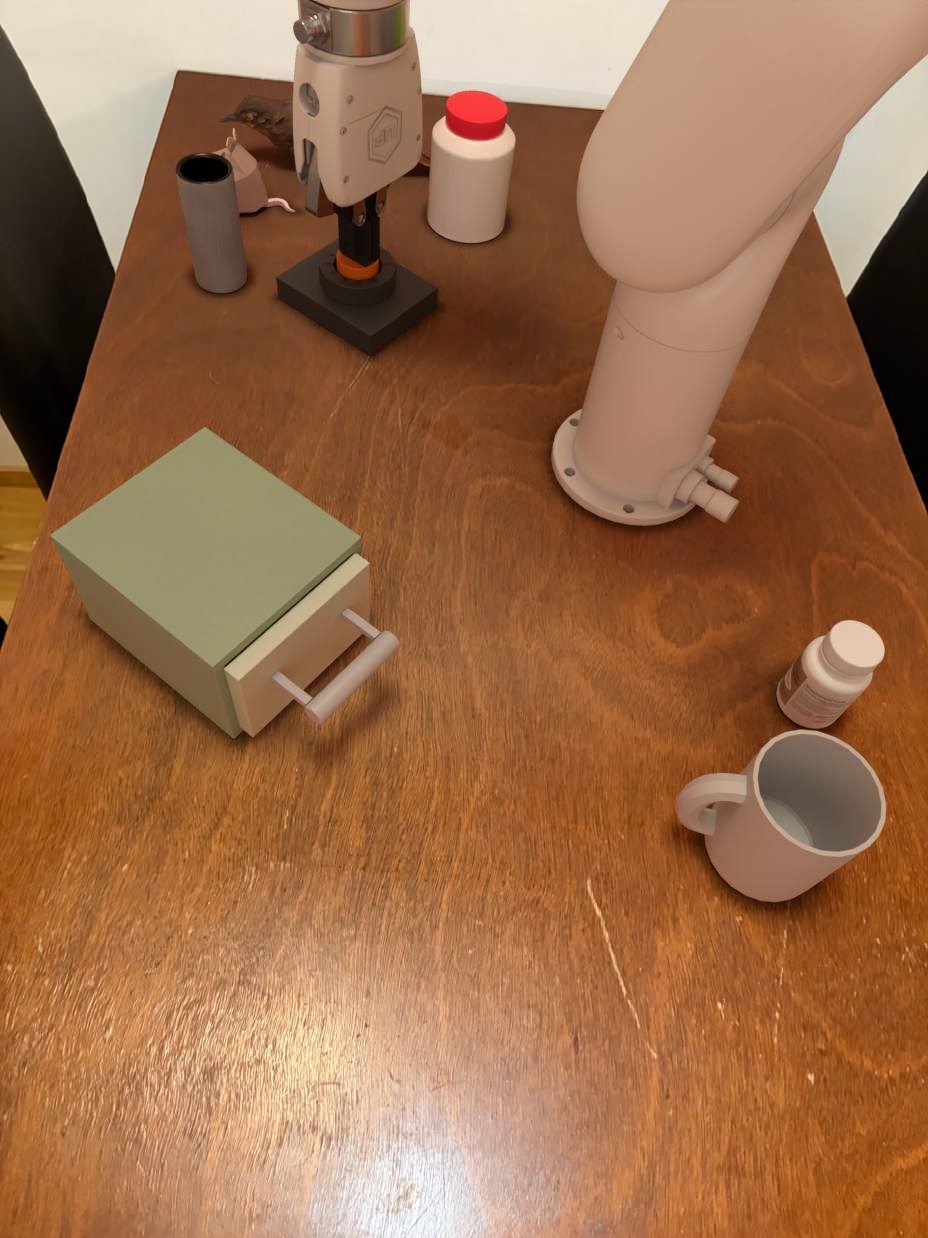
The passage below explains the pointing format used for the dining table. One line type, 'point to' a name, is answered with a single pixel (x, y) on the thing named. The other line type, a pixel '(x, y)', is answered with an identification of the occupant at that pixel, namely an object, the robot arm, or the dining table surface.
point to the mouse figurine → (248, 179)
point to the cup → (786, 814)
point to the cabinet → (199, 563)
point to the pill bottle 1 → (470, 168)
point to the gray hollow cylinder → (212, 221)
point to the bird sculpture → (278, 121)
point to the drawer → (309, 651)
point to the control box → (358, 298)
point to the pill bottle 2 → (830, 674)
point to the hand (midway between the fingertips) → (359, 255)
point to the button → (355, 268)
